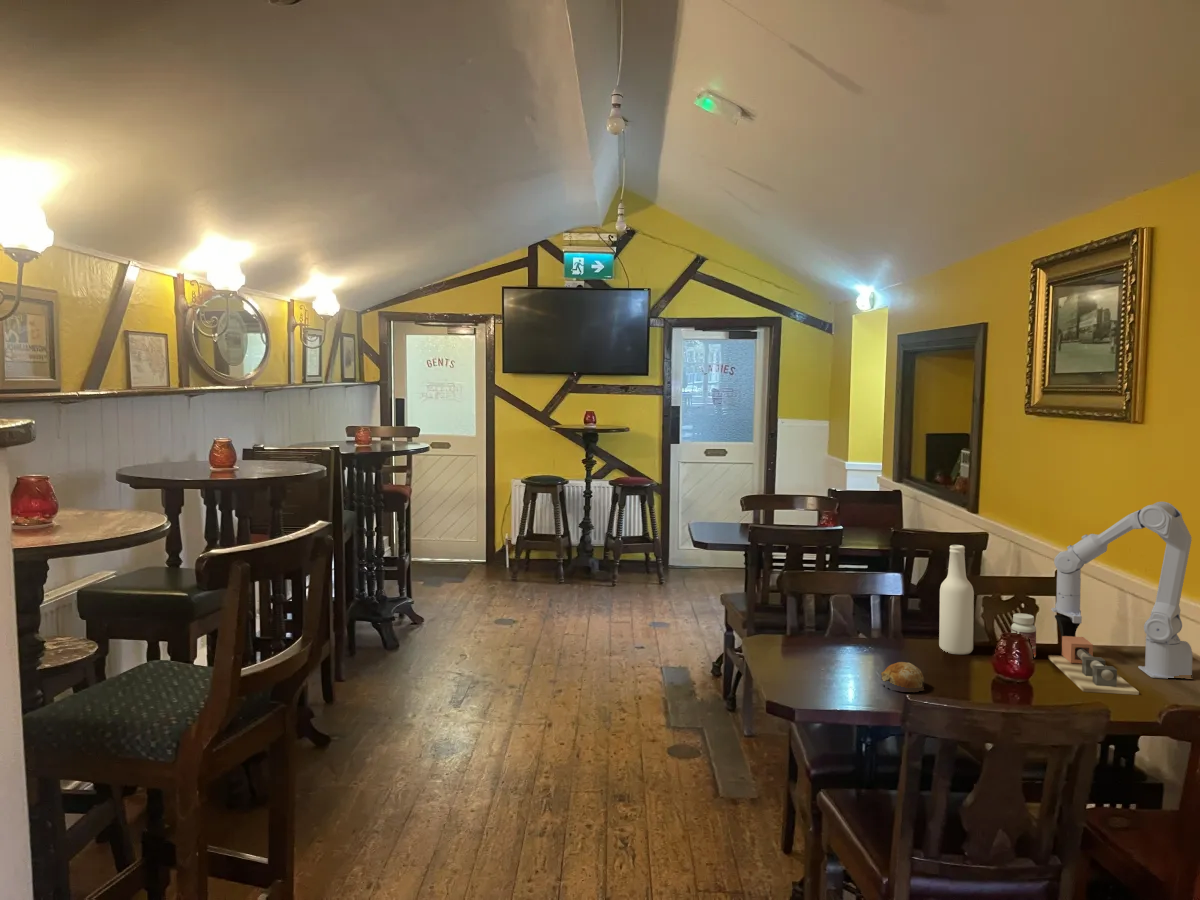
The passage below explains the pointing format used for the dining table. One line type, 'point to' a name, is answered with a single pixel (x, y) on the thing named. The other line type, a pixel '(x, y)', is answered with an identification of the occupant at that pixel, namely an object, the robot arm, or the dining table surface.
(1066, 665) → the shaft rig
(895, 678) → the bread roll
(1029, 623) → the pill bottle
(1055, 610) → the robot arm
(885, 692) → the dining table surface
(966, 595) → the alcohol
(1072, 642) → the terracotta arch block
